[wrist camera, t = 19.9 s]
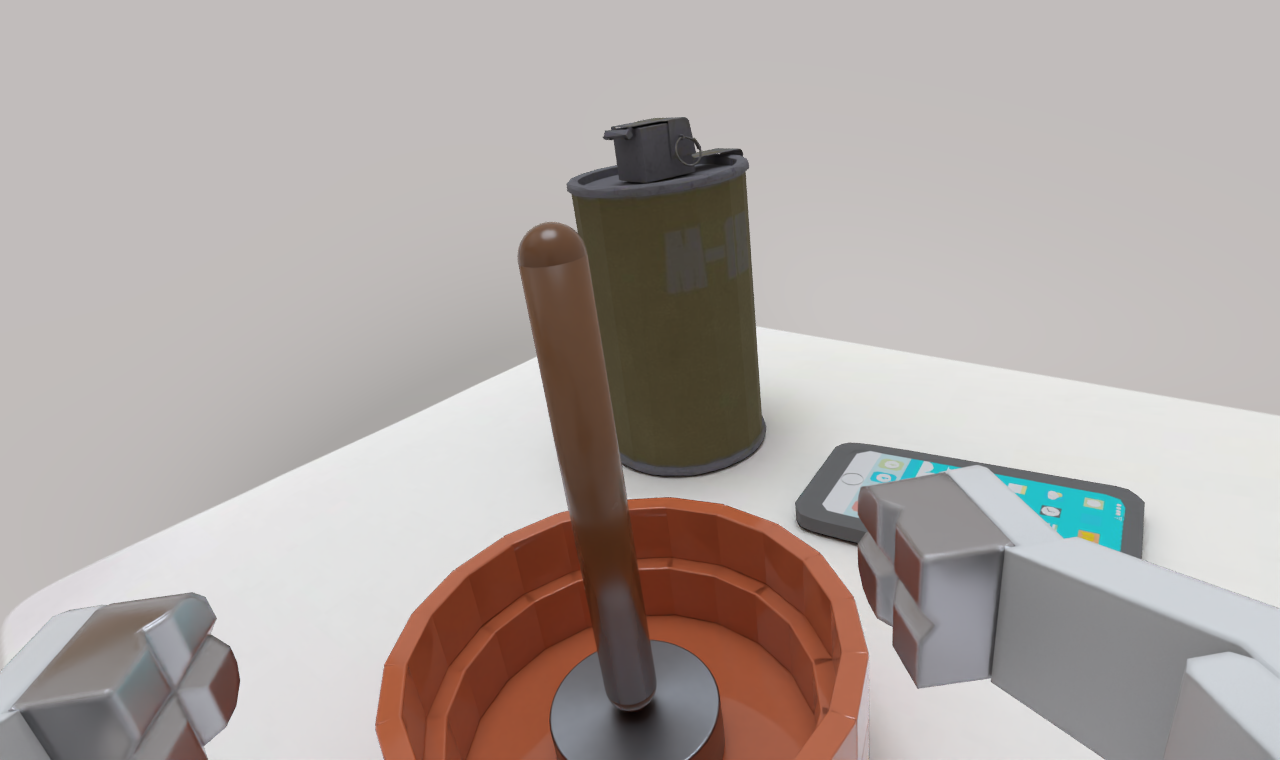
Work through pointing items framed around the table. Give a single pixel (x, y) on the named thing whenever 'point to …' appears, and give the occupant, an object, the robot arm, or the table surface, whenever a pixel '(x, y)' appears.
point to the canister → (674, 297)
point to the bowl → (676, 613)
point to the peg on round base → (605, 540)
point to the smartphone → (1055, 499)
